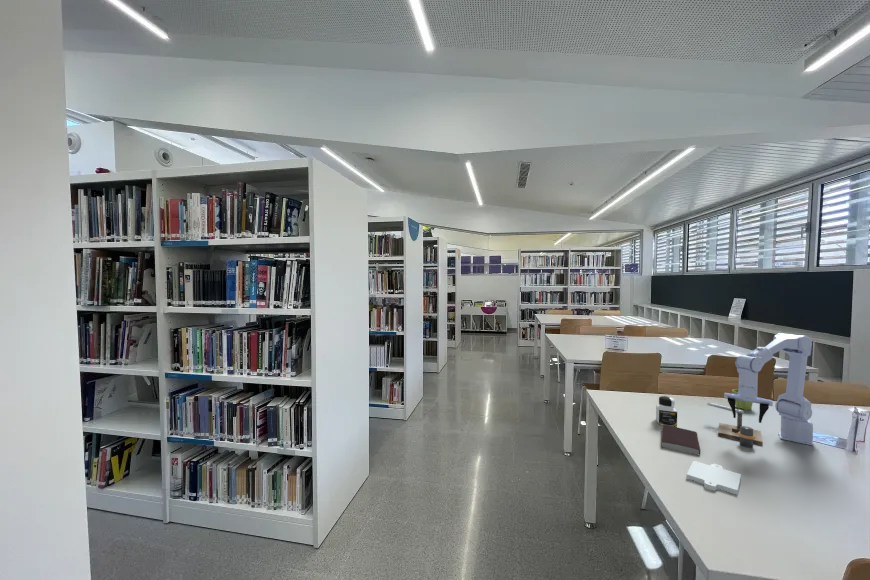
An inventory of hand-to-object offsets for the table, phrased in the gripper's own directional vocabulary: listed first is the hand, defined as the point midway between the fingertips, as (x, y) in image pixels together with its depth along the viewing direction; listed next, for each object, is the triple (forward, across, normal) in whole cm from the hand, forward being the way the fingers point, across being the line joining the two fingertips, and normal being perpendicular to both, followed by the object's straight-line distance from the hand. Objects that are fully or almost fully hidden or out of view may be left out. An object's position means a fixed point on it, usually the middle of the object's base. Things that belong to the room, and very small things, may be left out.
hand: (747, 419), depth 144 cm
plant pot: (+11, 0, +57) cm, 58 cm away
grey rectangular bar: (+3, -7, +19) cm, 20 cm away
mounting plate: (+11, -9, -40) cm, 42 cm away
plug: (+10, 0, 0) cm, 10 cm away
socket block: (+10, -2, +11) cm, 15 cm away
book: (+11, -21, -14) cm, 28 cm away
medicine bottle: (+11, -28, +6) cm, 31 cm away
